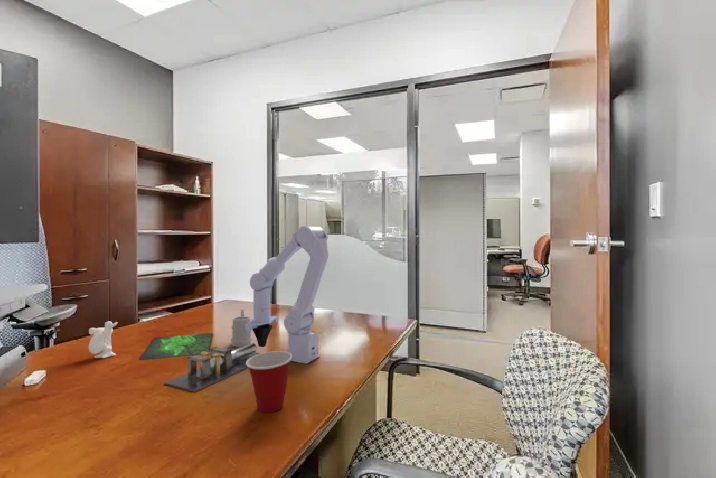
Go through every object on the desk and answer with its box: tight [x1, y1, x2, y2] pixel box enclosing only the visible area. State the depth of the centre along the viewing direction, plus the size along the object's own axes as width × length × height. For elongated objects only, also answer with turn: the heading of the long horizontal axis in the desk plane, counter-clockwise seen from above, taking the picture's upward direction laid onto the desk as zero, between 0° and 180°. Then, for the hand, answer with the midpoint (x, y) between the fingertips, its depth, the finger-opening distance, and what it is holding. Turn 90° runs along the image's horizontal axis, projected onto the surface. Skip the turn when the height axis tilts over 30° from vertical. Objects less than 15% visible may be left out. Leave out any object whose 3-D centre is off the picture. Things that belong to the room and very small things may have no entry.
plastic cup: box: [246, 350, 292, 414], centre depth 88 cm, size 11×11×12 cm
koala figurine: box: [88, 320, 118, 359], centre depth 124 cm, size 8×7×12 cm
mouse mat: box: [138, 332, 214, 361], centre depth 137 cm, size 27×22×1 cm
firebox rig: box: [163, 346, 262, 393], centre depth 113 cm, size 12×31×6 cm, turn 154°
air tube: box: [199, 342, 258, 372], centre depth 115 cm, size 20×3×4 cm, turn 154°
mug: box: [230, 308, 253, 348], centre depth 141 cm, size 8×12×12 cm, turn 15°
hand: (262, 346), depth 129 cm, fingers closed
